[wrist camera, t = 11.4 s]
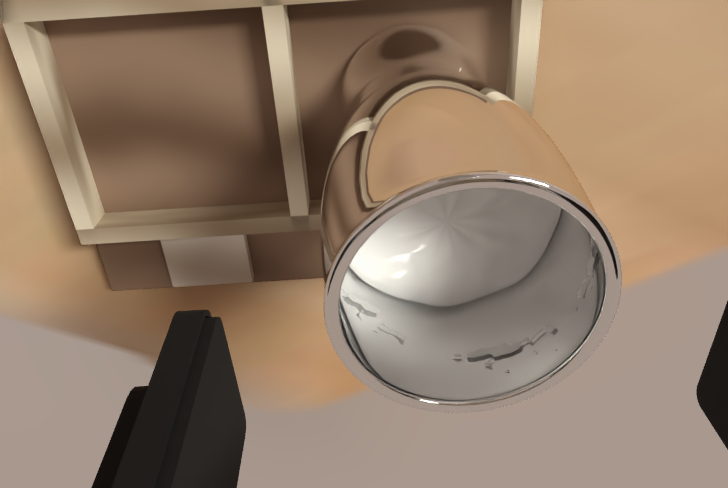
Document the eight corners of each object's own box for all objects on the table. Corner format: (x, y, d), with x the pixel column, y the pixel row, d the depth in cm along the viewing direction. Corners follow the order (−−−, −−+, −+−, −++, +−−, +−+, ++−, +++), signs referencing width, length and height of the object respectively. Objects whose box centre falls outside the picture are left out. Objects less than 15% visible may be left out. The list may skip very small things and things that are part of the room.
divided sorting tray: (18, -29, 24) (-17, -20, 22) (531, -64, 24) (551, -57, 22) (119, 277, 32) (102, 308, 30) (506, 253, 32) (518, 282, 29)
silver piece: (443, 191, 28) (524, 448, 16) (306, 136, 27) (269, 374, 14) (520, 53, 25) (702, 236, 12) (368, -18, 24) (396, 108, 11)
